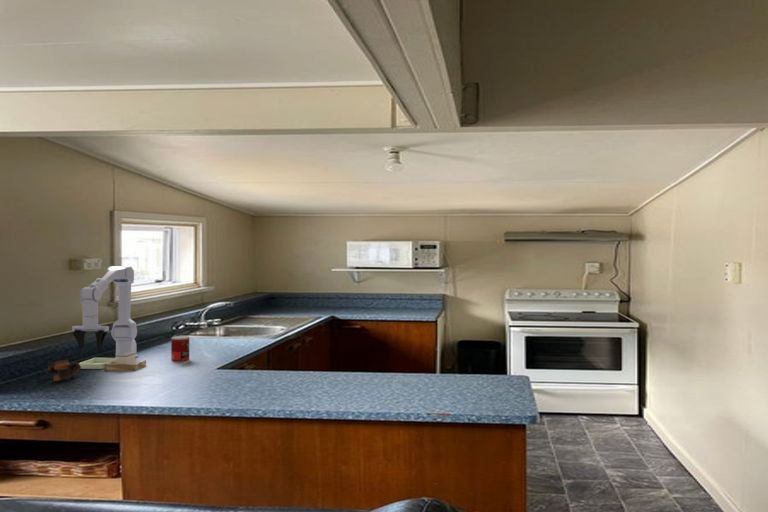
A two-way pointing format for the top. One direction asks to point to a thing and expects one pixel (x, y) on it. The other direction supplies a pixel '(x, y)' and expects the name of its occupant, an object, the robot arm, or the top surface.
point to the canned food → (180, 348)
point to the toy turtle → (63, 369)
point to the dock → (124, 366)
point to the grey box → (126, 358)
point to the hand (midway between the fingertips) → (90, 348)
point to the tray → (96, 363)
